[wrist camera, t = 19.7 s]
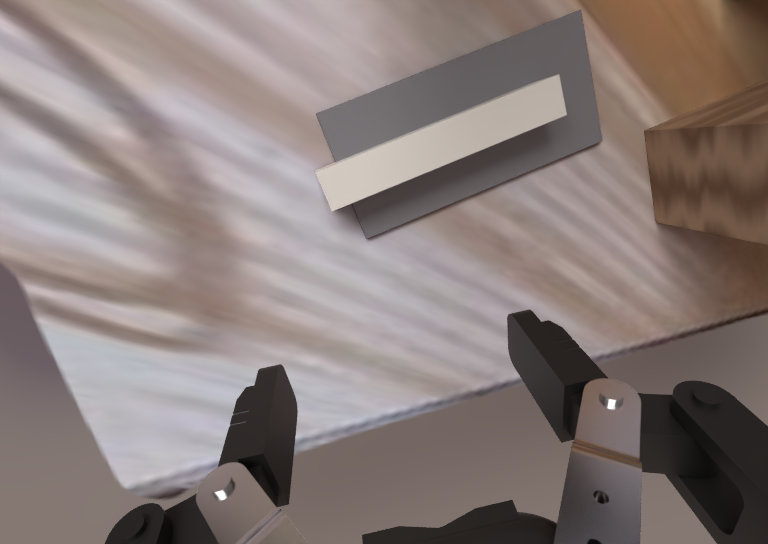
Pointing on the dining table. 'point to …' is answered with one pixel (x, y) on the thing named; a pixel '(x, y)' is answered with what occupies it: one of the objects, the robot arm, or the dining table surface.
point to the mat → (460, 92)
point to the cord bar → (442, 142)
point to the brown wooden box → (714, 167)
